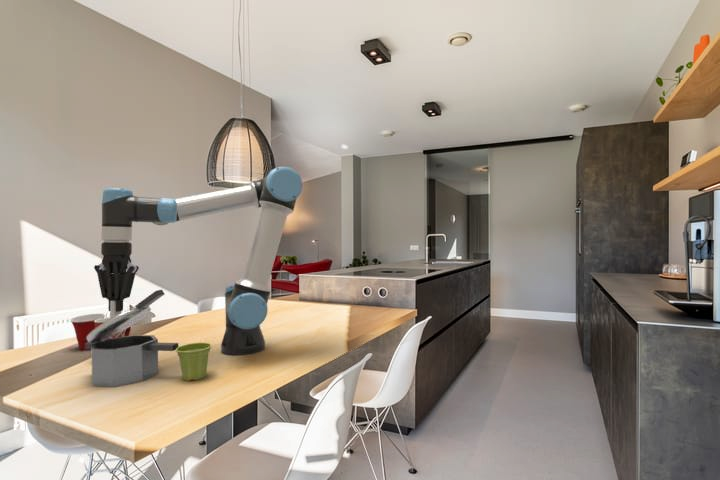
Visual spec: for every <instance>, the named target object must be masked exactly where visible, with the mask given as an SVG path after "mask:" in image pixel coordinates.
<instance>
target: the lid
mask: <svg viewBox="0 0 720 480" xmlns="http://www.w3.org/2000/svg"><path fill="white" fill-rule="evenodd" d="M163 296H165V292H164V291H163V289H158V290H155V291H154V292H152V293H151V294H150V295H148V296H147V297H145V298H144V299H143V300H141V301H139V303H137V304H136V305H134V308H131V309H128V310H126V311H124V312H121V314H119V315H117V316H115V317H113V318H111V319H110V320H108V321H106V322H104V323H103V324H101V325H100V326H98V327H97V328H95V329H93V331H91V332H90V333H89V334H88V335H87V337H86V339H87V340H88V344H93V343H96V342H99V341H103V340H106V339H108V338H109V337H110V336H113V335H115V334H117V333H119V332H121V331H123V330H126V329H127V328H129V327H130V326H131V327H132V326H133V325H135V324H136V323H138V322H140V321H141V320H143V319H144V318H145V317H147V316H148V315H149V314H150V312H151V311H152V309H151V307H150V306H151V305H152V304H153V303H155V302H156V301H158V300H159V299H160V298H162V297H163Z"/></svg>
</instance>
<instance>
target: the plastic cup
mask: <svg viewBox="0 0 720 480" xmlns="http://www.w3.org/2000/svg"><path fill="white" fill-rule="evenodd" d="M101 318H106V314H105V313H89V314H83V315H78V316H75V317H72V318H70V320H69V321H70V323H71V324H72V327H73V328H74V332H75V337H76V341H77V343H78V348H79V350H80V351H88V350H89V351H91V349H85V343H88V340H87V339H86V337H87V335H88V334H89V333H90V332H91V331H93V329H95V323H94V321H95V320H97V319H101Z"/></svg>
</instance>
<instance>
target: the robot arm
mask: <svg viewBox="0 0 720 480" xmlns="http://www.w3.org/2000/svg"><path fill="white" fill-rule="evenodd" d="M302 191H303V180H302V177H301V176H300V173H298V172H297V170H295V169H293V168H292V167H289V166H279V167H275V168H273V169H271V170H270V171H269V173H268V174H267V175H266V176H265V177H263V178H261V179H257V180H254V181H250V182H249V183H248V184H247V185H241V186H237V187H231V188H227V189H221V190H216V191H211V192H204V193H200V194H199V193H198V194H194V195H188V196H183V197H177V198H168V197H149V196H148V197H147V196H145V197H144V196H135V195H134V194H133V190H131V189H128V188H120V187H109V188H108V187H107V188H105V189H103V191H102V198H101V199H102V200H101V201H102V202H101V241H103V242H102V243H101V248H100V249H101V250H100V252H101V253H100V254H101V255H102V256H103V257H102V259H101V262H100V264H98V265H97V264H95V265H94V266H93V268H94V271H95V272H96V274H97V278H98V285H99V288H100V294H101V297H102V298H103V299H106V300H107V301H108V312H110V313H109V314H110V315H109V317H110V319H111V318H113V317H115V316H117V315H119V314H121V313H122V311H123V310H124V300H125V299H129V298H130V297H131V293H132V290H133V286H134V282H135V276H136V274H137V272H138V271H139V269H140V268H139V266H138V265H135V264H133V263H132V259H131V255H132V253H133V251H132V250H133V249H132V248H133V245H132V242H130V241H132V240H133V237H132V235H133V222H135V223H152V224H154V225H157V226H166V225H168V224H171V223H173V224H174V223H176V222H180V221H184V220H190V219H195V218H200V217H204V216H209V215H214V214H218V213H224V212H229V211H233V210H239V209H243V208H248V207H254V208H256V209H258V208H261V211H260V215H259V218H258V221H257V225H256V228H255V231H254V235H253V238H252V241H251V246H250V248H249V252H248V256H247V259H246V261H245V262H246V263H245V265H244V269H243V272H242V276H241V278H240V279H238V280H236V281H235V283H234V284H232V285H228V286H226V287H225V289H224V299H225V300H224V301H225V303H224V304H225V306H224V307H225V331H224V335H223V337H222V340H221V344H220V352H221V353H222V354H225V355H233V356H235V355H236V356H237V355H239V356H240V355H248V354H254V353H257V352H260V351H262V350H265V348H266V339H265V336H264V335H263V334H264V333H263V332H262V329H261V325H262V324H263V322H264V321H265V319H266V317H267V316H268V315H267V314H268V311H269V310H268V301H269V298H270V295H271V294H270V293H271V288H270V287H269V282H270V277H271V273H272V272H273V271H272V270H273V268H274V263H275V260H276V257H277V253H278V249H279V245H280V243H281V239H282V235H283V233H284V232H283V231H284V229H285V224H286V223H287V222H286V221H287V217H288V216H289V215H291V214H293V212H294V210H295V207H296V204H297V199H298V198H299V197H300V195H301V194H302Z"/></svg>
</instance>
